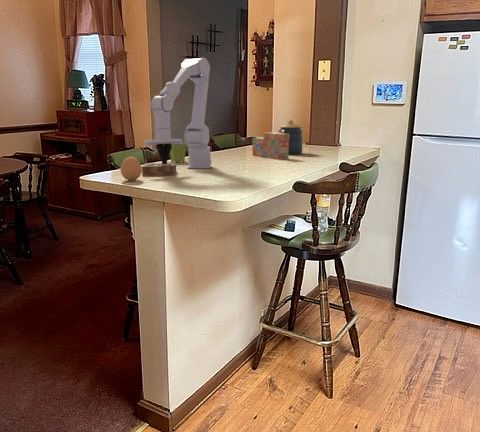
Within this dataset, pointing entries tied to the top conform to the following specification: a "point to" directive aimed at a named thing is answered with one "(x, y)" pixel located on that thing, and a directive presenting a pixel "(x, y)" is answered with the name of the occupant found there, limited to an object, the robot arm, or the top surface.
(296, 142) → the canister
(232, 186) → the top surface
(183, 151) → the plant pot
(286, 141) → the stack of blocks
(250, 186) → the top surface
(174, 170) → the socket block
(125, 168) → the egg
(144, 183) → the top surface
